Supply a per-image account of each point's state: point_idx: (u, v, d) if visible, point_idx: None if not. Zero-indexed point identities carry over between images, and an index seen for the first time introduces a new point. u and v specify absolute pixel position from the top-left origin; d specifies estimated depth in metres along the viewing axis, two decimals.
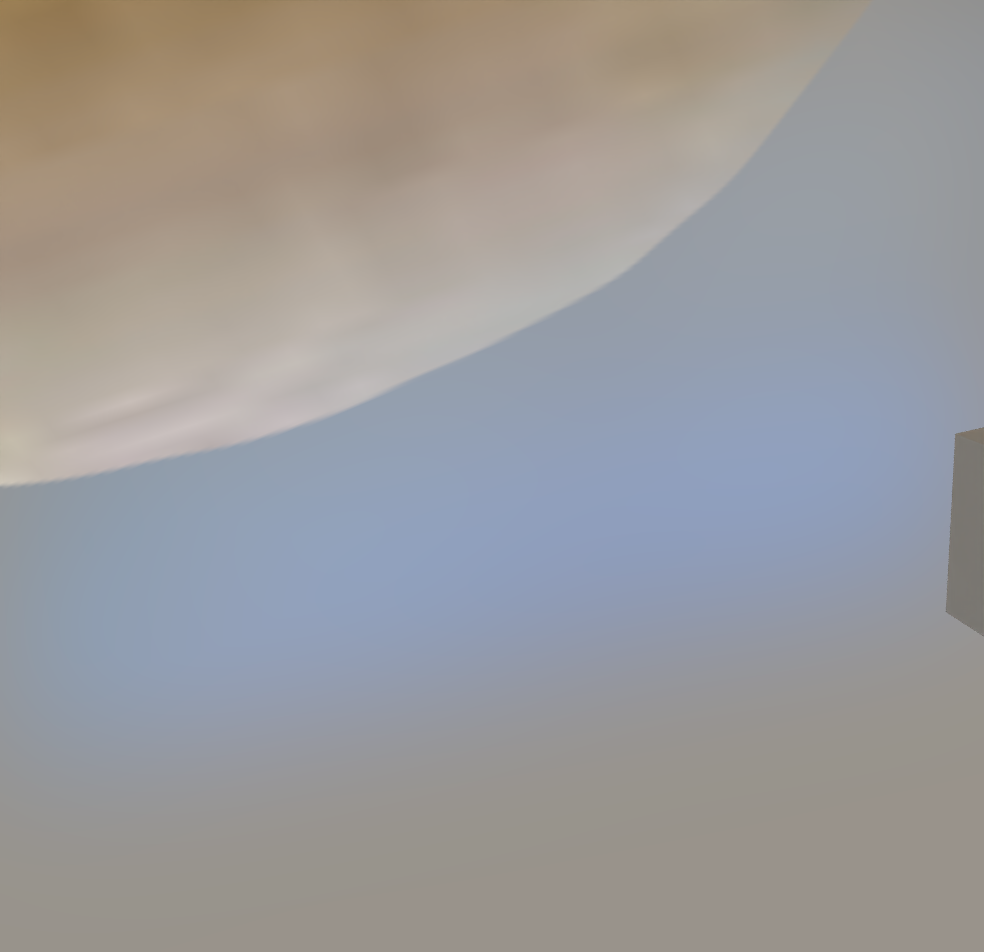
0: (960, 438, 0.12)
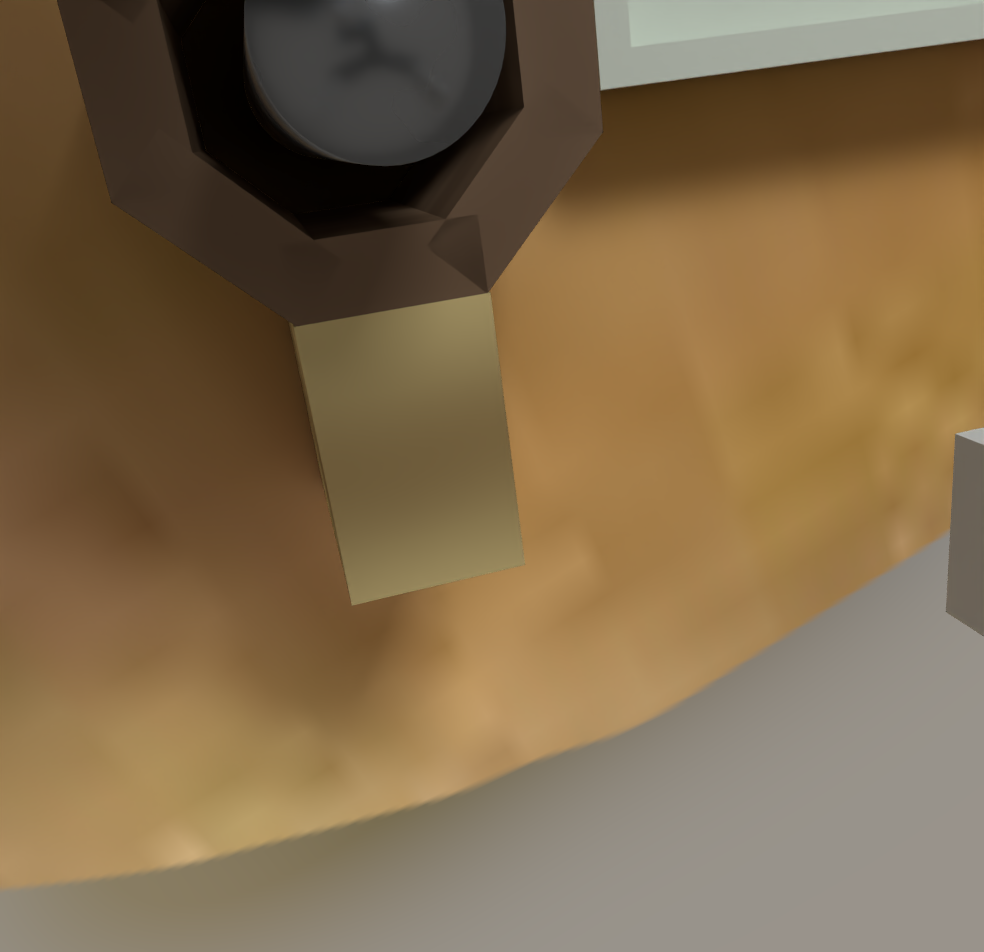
0: (960, 438, 0.12)
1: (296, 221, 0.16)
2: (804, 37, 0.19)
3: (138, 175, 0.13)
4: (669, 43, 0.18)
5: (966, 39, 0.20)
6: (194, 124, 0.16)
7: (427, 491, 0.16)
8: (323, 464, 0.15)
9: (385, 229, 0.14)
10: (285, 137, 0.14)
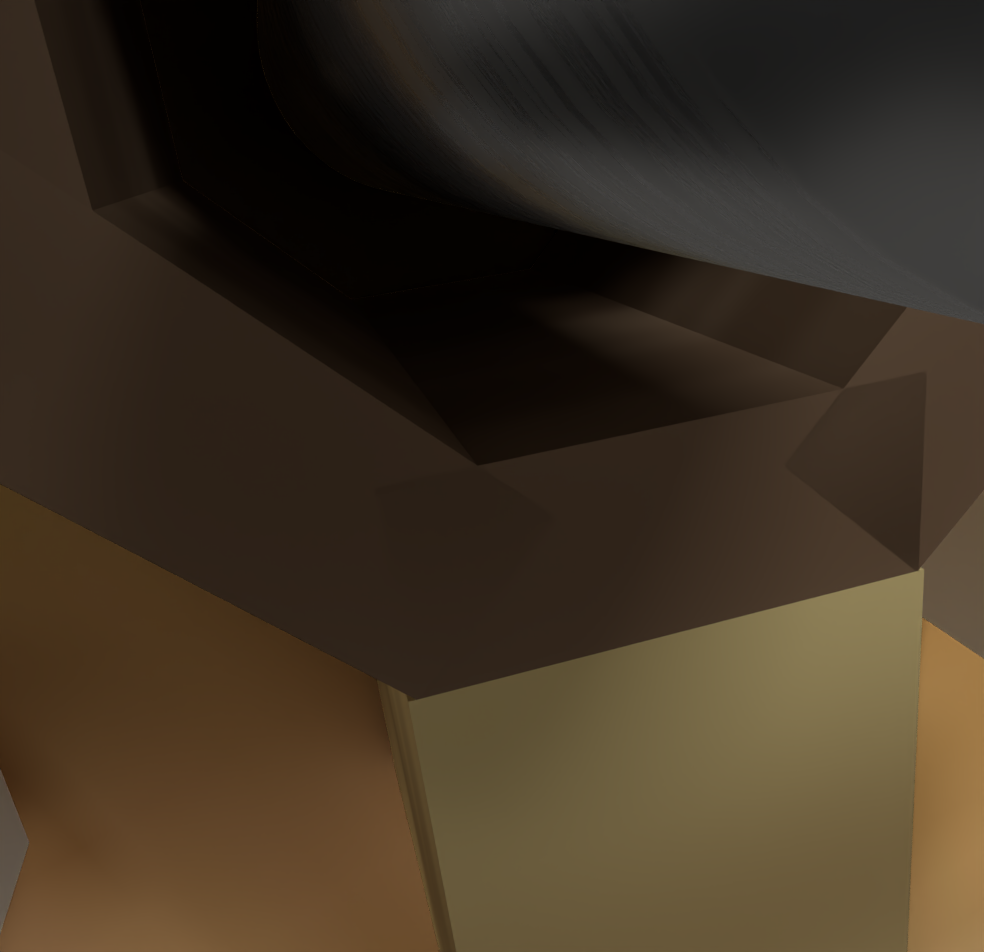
0: None
1: (381, 347, 0.07)
2: None
3: None
4: None
5: None
6: (142, 123, 0.07)
7: None
8: None
9: (681, 425, 0.05)
10: (384, 156, 0.05)
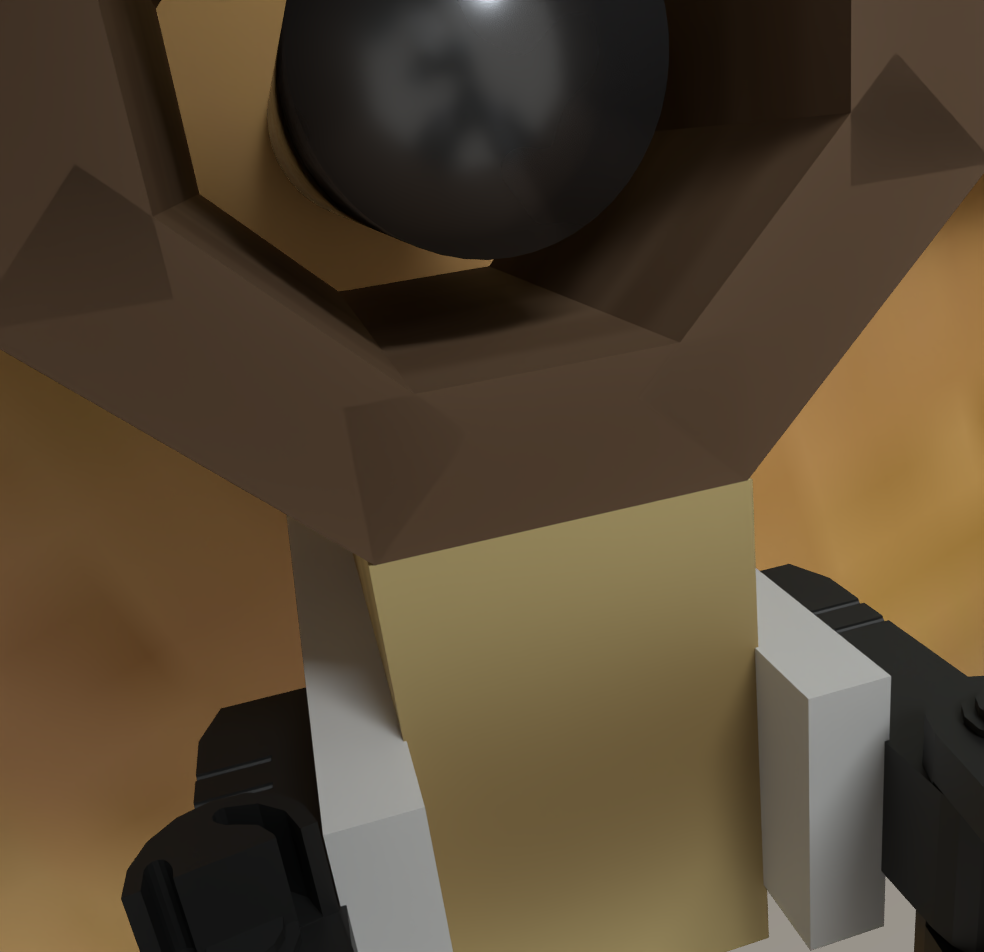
0: None
1: (357, 323, 0.09)
2: None
3: (31, 270, 0.06)
4: None
5: None
6: (172, 151, 0.09)
7: (609, 837, 0.08)
8: None
9: (561, 367, 0.07)
10: (327, 203, 0.11)
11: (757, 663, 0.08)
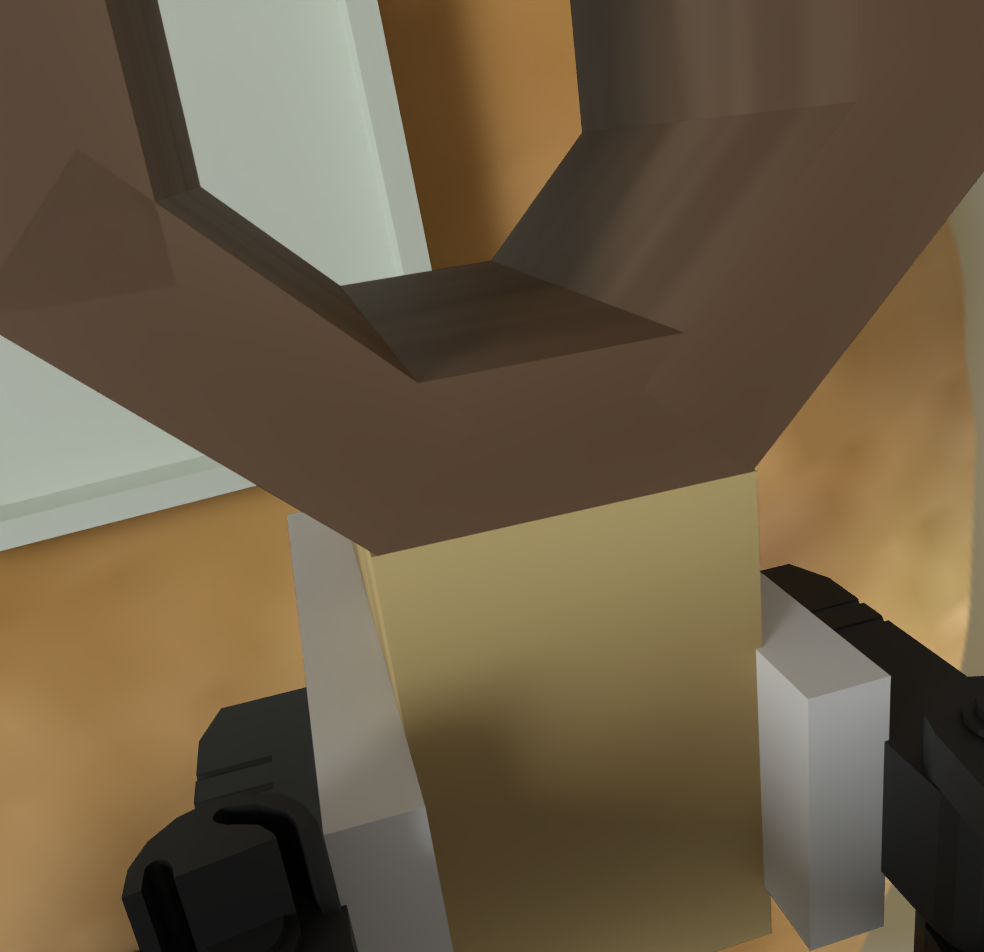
0: None
1: (359, 315, 0.09)
2: (411, 264, 0.22)
3: (32, 256, 0.06)
4: None
5: (394, 89, 0.21)
6: (174, 141, 0.08)
7: (612, 831, 0.08)
8: None
9: (565, 357, 0.07)
10: None
11: (757, 663, 0.08)
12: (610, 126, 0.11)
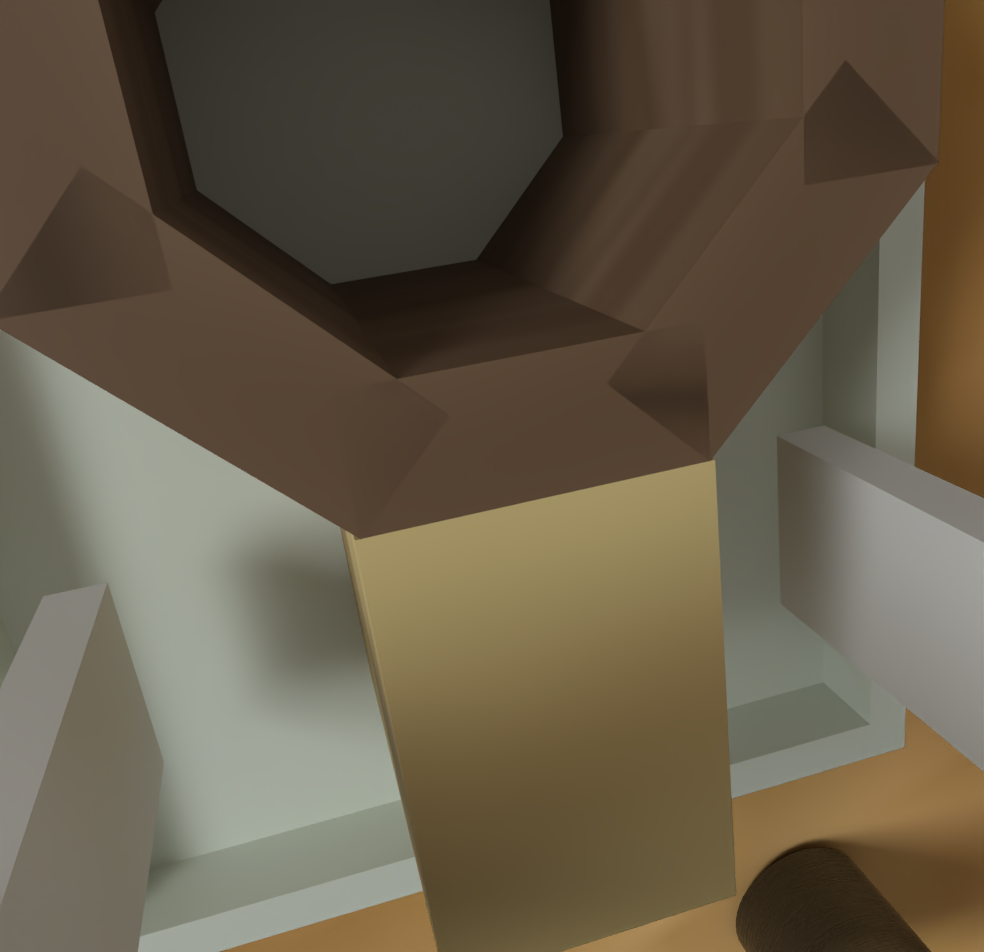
0: (780, 440, 0.13)
1: (346, 314, 0.10)
2: None
3: (38, 264, 0.06)
4: (872, 684, 0.15)
5: (918, 263, 0.13)
6: (170, 150, 0.09)
7: (583, 797, 0.09)
8: (403, 771, 0.08)
9: (533, 354, 0.07)
10: None
11: None
12: (587, 131, 0.12)
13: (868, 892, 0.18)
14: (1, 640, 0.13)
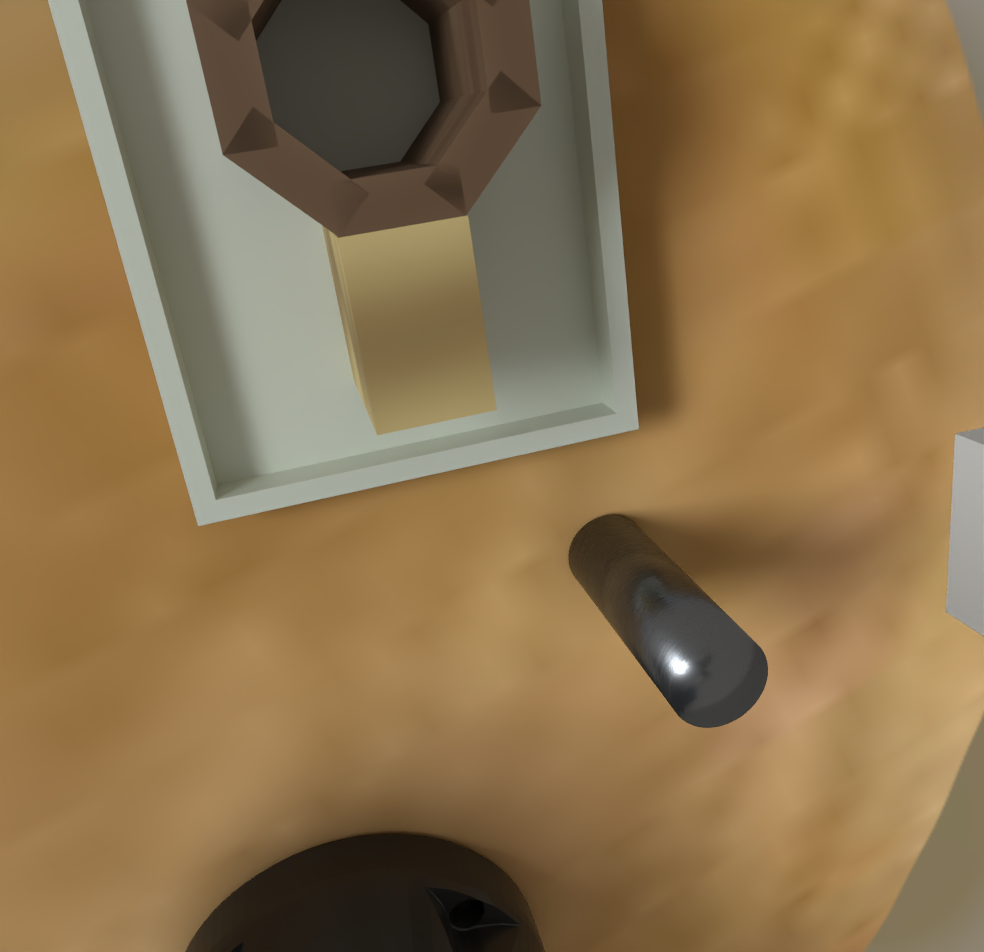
0: (960, 438, 0.12)
1: None
2: (612, 296, 0.29)
3: (239, 137, 0.20)
4: (615, 389, 0.30)
5: (614, 162, 0.27)
6: None
7: (427, 354, 0.23)
8: (357, 333, 0.23)
9: (397, 172, 0.21)
10: None
11: None
12: (446, 98, 0.26)
13: (636, 529, 0.33)
14: (177, 343, 0.27)
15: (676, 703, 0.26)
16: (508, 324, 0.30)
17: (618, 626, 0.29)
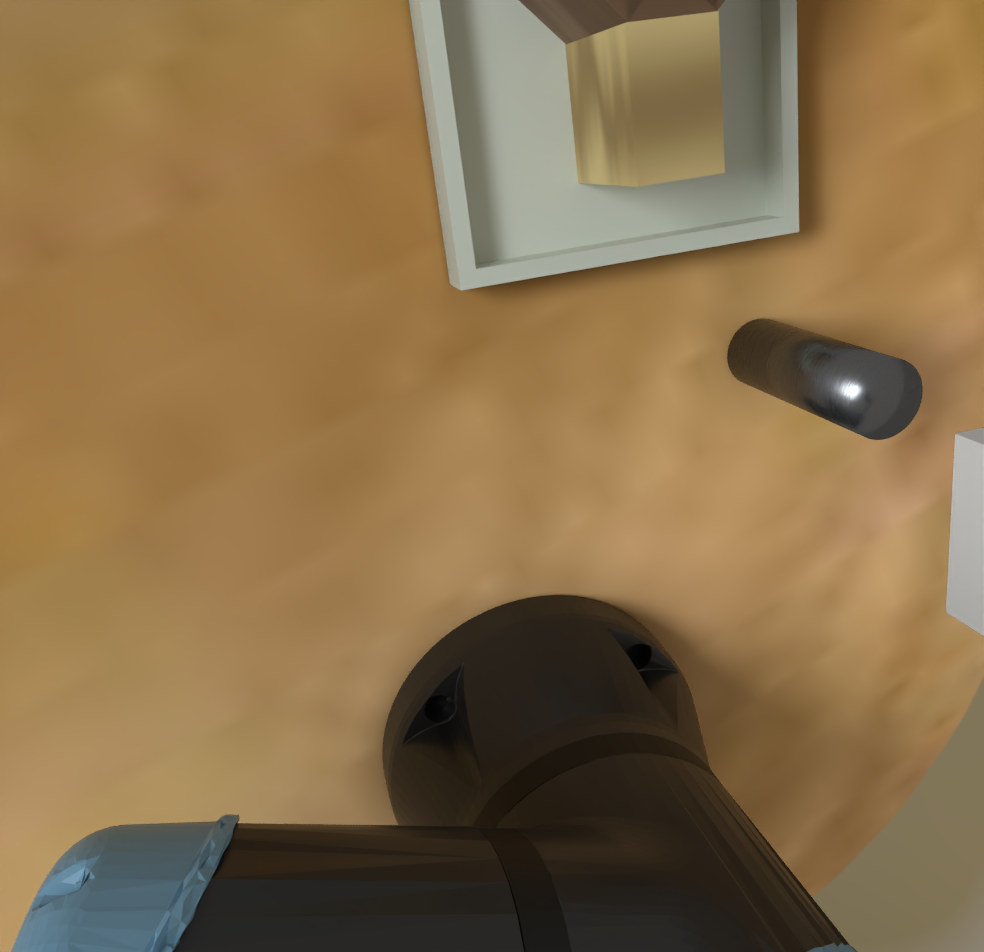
0: (960, 438, 0.12)
1: None
2: (786, 115, 0.36)
3: None
4: (783, 196, 0.37)
5: (795, 3, 0.35)
6: None
7: (679, 122, 0.30)
8: (632, 101, 0.30)
9: None
10: None
11: None
12: None
13: None
14: None
15: (853, 415, 0.33)
16: None
17: (788, 382, 0.36)
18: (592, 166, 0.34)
